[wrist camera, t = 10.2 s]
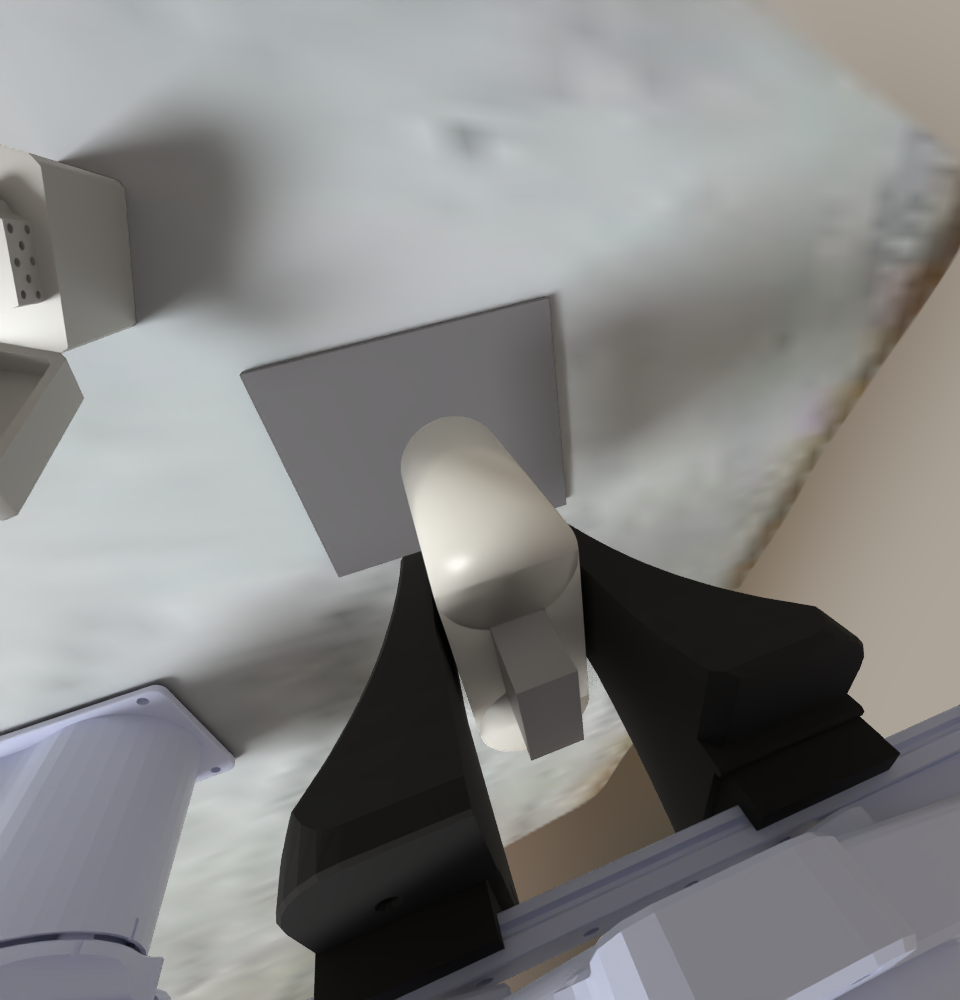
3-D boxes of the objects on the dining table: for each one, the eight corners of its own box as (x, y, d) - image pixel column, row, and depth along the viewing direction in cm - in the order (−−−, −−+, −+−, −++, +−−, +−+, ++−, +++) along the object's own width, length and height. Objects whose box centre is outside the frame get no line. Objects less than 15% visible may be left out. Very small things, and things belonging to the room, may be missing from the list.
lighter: (47, 159, 12) (-322, 46, 5) (124, 182, 13) (-120, 107, 6) (83, 404, 15) (-123, 529, 8) (143, 413, 16) (-4, 535, 9)
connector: (451, 629, 16) (509, 831, 10) (387, 433, 11) (429, 601, 6) (526, 603, 16) (622, 784, 11) (492, 403, 12) (623, 536, 6)
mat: (339, 570, 21) (338, 577, 21) (241, 371, 16) (239, 375, 15) (562, 499, 23) (566, 504, 22) (544, 297, 17) (549, 298, 17)
